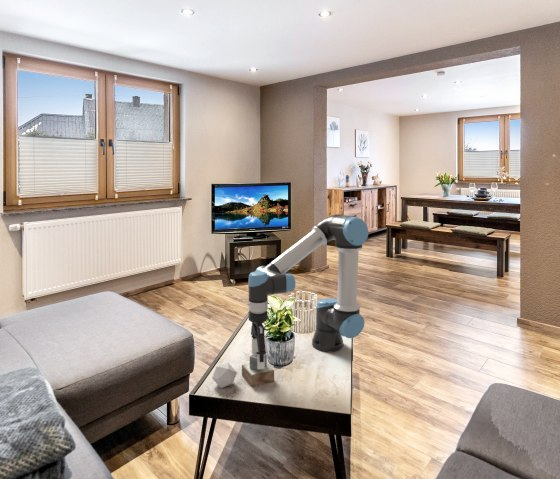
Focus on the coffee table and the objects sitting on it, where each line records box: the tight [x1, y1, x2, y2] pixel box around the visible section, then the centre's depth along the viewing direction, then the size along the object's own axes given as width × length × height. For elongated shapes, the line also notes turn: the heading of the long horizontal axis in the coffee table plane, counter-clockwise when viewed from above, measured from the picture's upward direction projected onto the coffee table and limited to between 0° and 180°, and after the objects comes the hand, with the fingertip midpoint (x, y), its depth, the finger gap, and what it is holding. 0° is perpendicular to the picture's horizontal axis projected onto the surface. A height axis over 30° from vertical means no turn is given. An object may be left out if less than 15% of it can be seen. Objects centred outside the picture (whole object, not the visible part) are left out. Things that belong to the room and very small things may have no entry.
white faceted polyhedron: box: [211, 362, 238, 389], centre depth 157 cm, size 8×9×10 cm
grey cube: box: [249, 352, 268, 371], centre depth 161 cm, size 5×5×5 cm
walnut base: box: [241, 362, 275, 388], centre depth 162 cm, size 10×10×5 cm
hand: (258, 360), depth 161 cm, fingers open, 13 cm apart
